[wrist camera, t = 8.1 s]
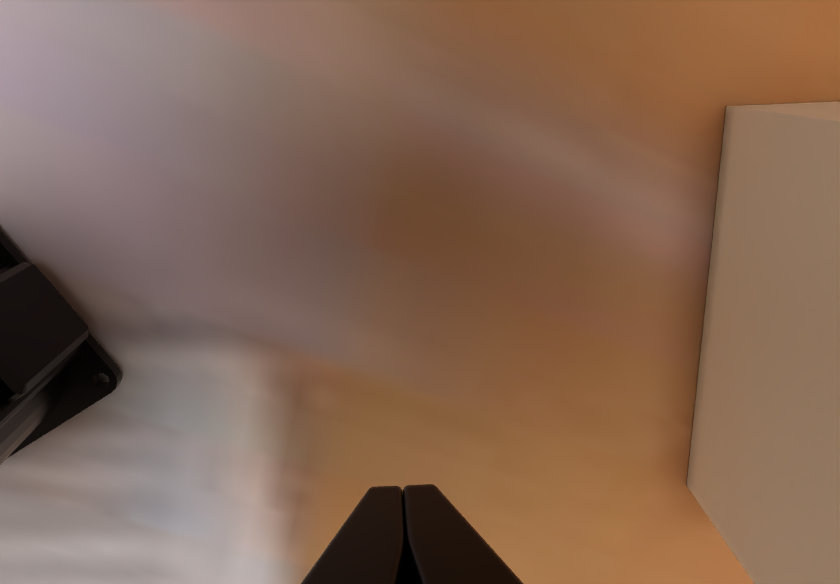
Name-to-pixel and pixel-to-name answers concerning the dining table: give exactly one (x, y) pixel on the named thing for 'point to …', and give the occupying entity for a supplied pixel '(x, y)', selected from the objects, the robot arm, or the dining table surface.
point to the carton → (773, 346)
